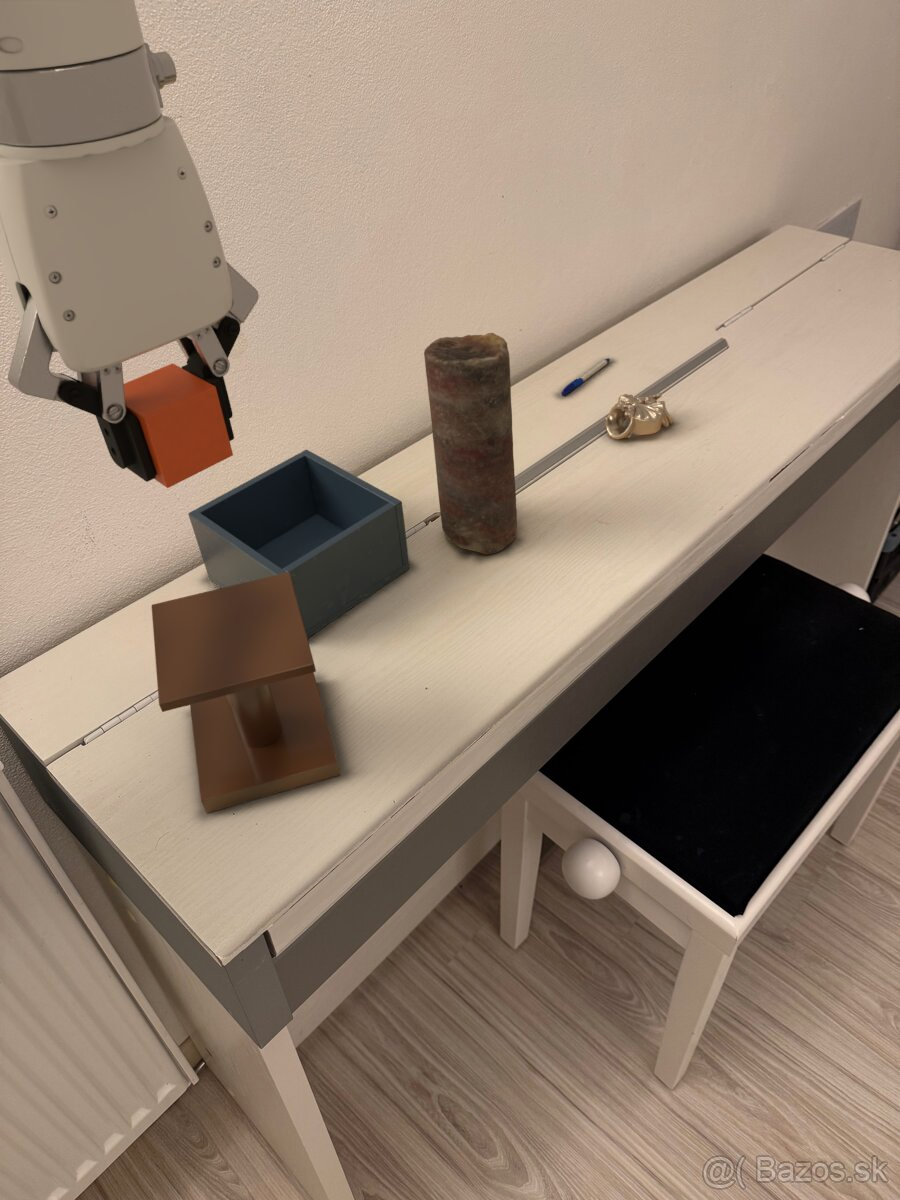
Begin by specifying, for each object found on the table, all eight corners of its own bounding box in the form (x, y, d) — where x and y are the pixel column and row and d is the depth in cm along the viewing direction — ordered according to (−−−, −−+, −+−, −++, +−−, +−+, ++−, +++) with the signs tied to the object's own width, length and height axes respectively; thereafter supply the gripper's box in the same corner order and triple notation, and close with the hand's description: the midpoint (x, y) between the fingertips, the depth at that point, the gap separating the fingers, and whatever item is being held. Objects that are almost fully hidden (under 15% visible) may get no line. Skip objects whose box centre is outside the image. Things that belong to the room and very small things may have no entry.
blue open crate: (297, 645, 75) (280, 577, 69) (209, 579, 82) (187, 513, 77) (410, 568, 81) (402, 501, 76) (319, 513, 89) (306, 448, 84)
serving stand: (205, 813, 62) (158, 704, 54) (194, 713, 69) (150, 604, 61) (340, 775, 64) (314, 663, 56) (315, 681, 71) (289, 571, 63)
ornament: (649, 404, 101) (652, 376, 99) (683, 431, 96) (687, 402, 94) (589, 422, 99) (591, 393, 97) (621, 450, 94) (624, 421, 92)
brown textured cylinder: (428, 548, 84) (409, 356, 70) (456, 505, 88) (443, 319, 75) (502, 563, 81) (497, 368, 68) (527, 518, 86) (527, 328, 73)
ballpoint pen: (566, 398, 104) (566, 390, 103) (560, 396, 104) (560, 388, 103) (610, 362, 110) (610, 355, 109) (604, 361, 110) (604, 353, 109)
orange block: (167, 488, 48) (144, 418, 45) (127, 460, 51) (102, 392, 48) (233, 455, 51) (215, 386, 48) (192, 430, 53) (172, 362, 50)
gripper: (187, 59, 45) (258, 379, 57) (-156, 133, 36) (13, 491, 48) (273, 74, 41) (330, 416, 53) (-91, 162, 32) (76, 546, 44)
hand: (177, 449), depth 50 cm, fingers closed on orange block, 4 cm apart
